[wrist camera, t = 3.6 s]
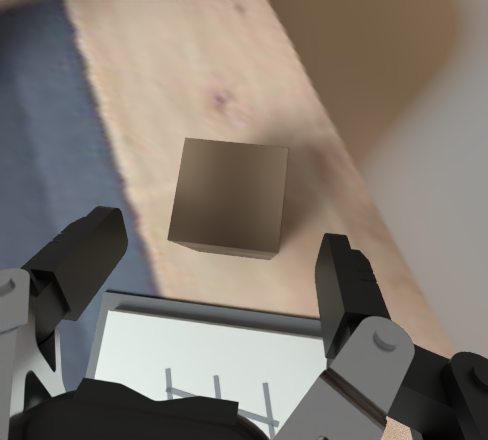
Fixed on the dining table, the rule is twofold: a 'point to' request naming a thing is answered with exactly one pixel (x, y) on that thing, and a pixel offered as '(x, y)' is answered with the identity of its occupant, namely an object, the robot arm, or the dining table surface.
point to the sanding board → (208, 354)
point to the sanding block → (229, 198)
